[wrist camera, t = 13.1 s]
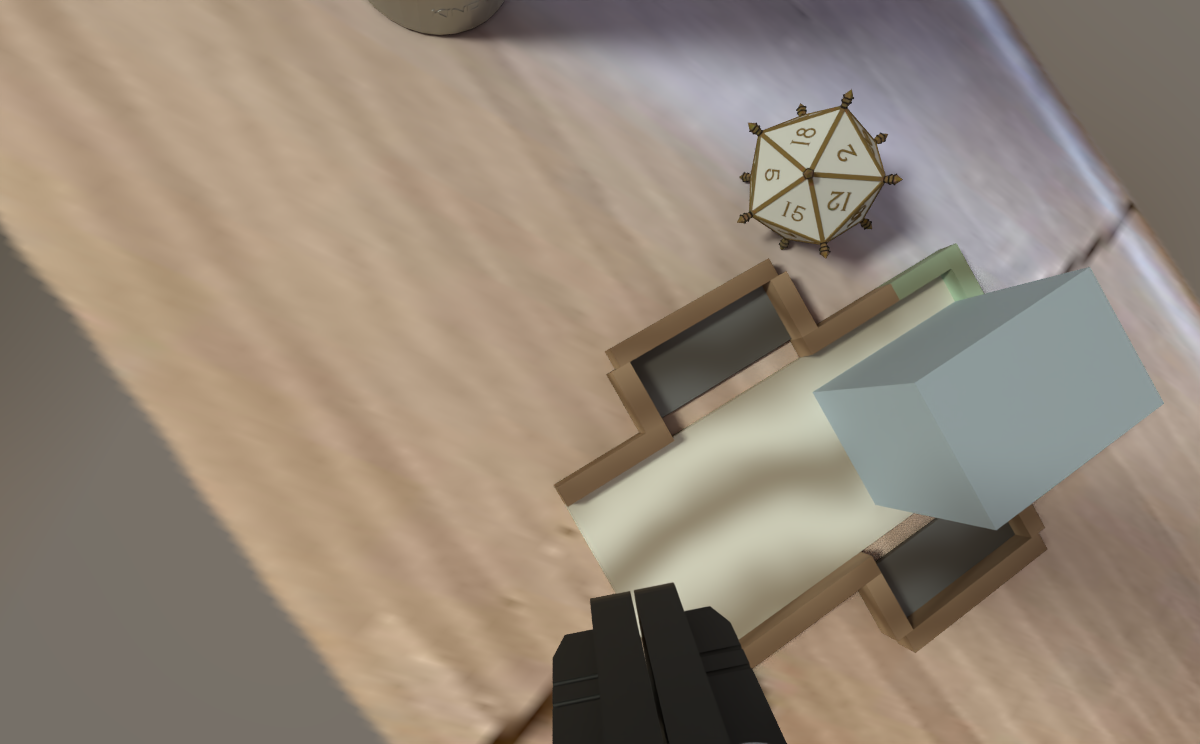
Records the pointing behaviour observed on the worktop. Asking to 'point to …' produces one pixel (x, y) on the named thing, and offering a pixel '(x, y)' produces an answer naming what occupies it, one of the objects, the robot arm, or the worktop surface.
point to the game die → (815, 175)
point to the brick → (991, 401)
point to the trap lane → (778, 471)
